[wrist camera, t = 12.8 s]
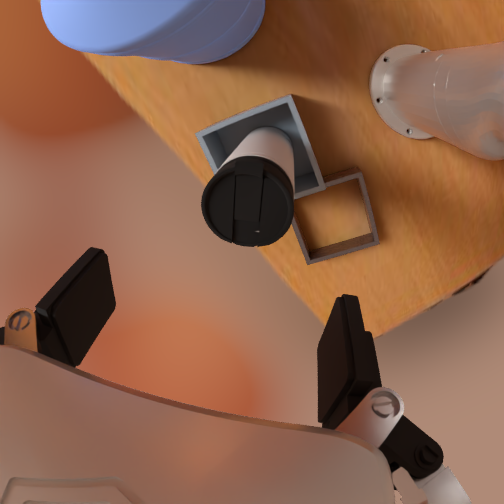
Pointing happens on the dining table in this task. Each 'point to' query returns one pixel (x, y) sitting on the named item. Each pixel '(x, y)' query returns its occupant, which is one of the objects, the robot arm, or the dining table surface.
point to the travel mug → (253, 190)
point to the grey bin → (268, 114)
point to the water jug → (155, 27)
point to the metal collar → (349, 244)
